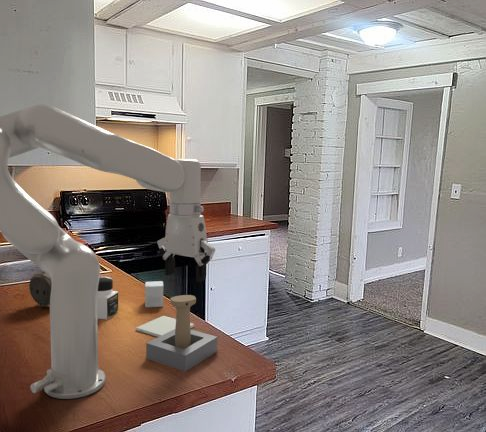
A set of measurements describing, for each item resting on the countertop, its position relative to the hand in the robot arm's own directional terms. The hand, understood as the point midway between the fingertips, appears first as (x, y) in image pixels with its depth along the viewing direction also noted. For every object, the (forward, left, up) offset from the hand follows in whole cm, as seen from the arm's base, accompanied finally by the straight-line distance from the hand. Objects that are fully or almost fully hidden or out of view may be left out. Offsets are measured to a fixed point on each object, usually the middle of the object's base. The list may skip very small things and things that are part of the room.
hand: (185, 277), depth 112 cm
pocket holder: (0, 0, -20) cm, 20 cm away
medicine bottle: (+8, +38, -21) cm, 44 cm away
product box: (+25, +32, -21) cm, 45 cm away
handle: (0, 0, -21) cm, 21 cm away
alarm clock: (+2, +58, -21) cm, 62 cm away
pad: (+11, +15, -20) cm, 28 cm away
